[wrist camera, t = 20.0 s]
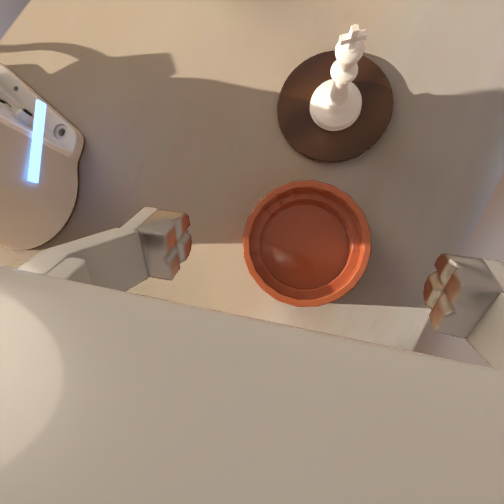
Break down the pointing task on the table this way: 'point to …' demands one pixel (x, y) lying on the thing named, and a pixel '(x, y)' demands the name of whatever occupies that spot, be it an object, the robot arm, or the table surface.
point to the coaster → (323, 141)
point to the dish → (306, 243)
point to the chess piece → (340, 85)
